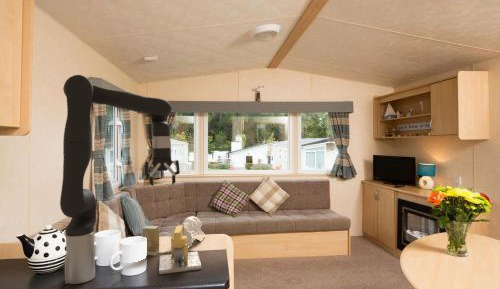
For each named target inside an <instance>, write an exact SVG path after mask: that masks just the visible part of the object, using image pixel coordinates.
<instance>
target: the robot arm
mask: <svg viewBox="0 0 500 289" xmlns="http://www.w3.org/2000/svg"><path fill="white" fill-rule="evenodd" d="M62 89H63V90H62V91H63V94H64V96H65V97H66V105H67V106H66V108H67V114H66V121H65V125H64V129H63V130H64V132H63V139H62V140H63V142H62V143H63V145H62V147H63V148H62V149H63V151H62V152H63V154H62V156H63V161H62V162H63V165H62V166H63V168H62V185H61V190H60V191H61V193H60V200H59V206H60V210H61V213H63V215H64V216H66V217H68V218H70V219H71V220H70V221H69V223H68V225H67V226H66V228H65V250H66V251H65V252H66V255H65V256H64V280H65V281H64V282H65V284H71V285H76V284H83V283H87V282H89V281H92V280H93V279H94V278H95V277H96V260H95V259H96V258H95V257H96V256H95V255H96V254H95V253H96V251H95V225H96V221H97V200H96V195H95V194H94V193H93V192H92V191H91V190H90V189H87V188H84V178H85V174H86V172H87V169H88V168H89V167H88V166H90V165H89V164H90V161H91V159H92V155H93V154H92V153H93V134H92V133H93V130H92V120H91V110H92V104H101V105H106V106H112V107H115V108H118V109H119V108H120V109H123V110H128V111H131V112H136V113H147V114H150V118H151V123H152V161H148V160H146V161H145V163H144V175H145V176H147V177H149V185H150V186H152V187H153V186H154V174H155V173H156V172H157V171H158V172H161V171H163V172H166V171H169V173H170V174H171V185H174V184H175V183H176V175H179V174H180V171H181V170H180V161H179V160H178V159H175V160H172V144H171V142H172V141H171V132H170V131H171V128H170V125H169V123H168V122H167V121H168V120H167V117H168V115H170V113H171V112H172V105H171V103H170V102H169V101H168V100H165V99H164V98H163V99H162V98H158V97H149V96H146V95H145V96H144V95H141V94H137V93H133V92H129V91H125V90H114V89H109V88H105V87H104V88H103V87H100V86H97V85H95V84H93V83H92V82H91V80H90V79H89V78H88V77H86V76H85V75H83V74H82V75H81V74H75V75H74V74H73V75H72V76H70V77H69V78H67V79H66V80H65V83H64V84H63V88H62ZM151 165H152V166H153V169H152V171H151V172H149V168H150V167H151ZM172 165H174V166H175V168H176V171H174V170H173V169H172V167H171V166H172Z"/></svg>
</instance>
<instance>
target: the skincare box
mask: <svg viewBox="0 0 500 289" xmlns="http://www.w3.org/2000/svg"><path fill="white" fill-rule="evenodd" d="M143 237H146V238H147V255H146V256H157V255H158V254H159V253H160V226H158V225H145V226H144V227H142V238H143Z"/></svg>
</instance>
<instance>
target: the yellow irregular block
mask: <svg viewBox="0 0 500 289" xmlns="http://www.w3.org/2000/svg"><path fill="white" fill-rule="evenodd" d="M175 228H176V229H175ZM175 228H174V229H175V231H174V237H172V238H171V240H170V246H171V247H173V248H182V247H184V244H187V237H186V236H183V234H184V224H183V223H179V224H177V225H176V227H175ZM171 247H170V248H171Z"/></svg>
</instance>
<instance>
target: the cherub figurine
mask: <svg viewBox="0 0 500 289" xmlns="http://www.w3.org/2000/svg"><path fill="white" fill-rule="evenodd" d="M182 224H184V234H183V236H186V237H187V244H188V246H189V248H190V247H192V246H193V244H194V239H193V240H192V236H197V235H205V236H206V234H205V233H204V231H203V230H202V225H203V223H202V220H200V218H198V217H197V216H193V215H192V216H188V217H186V218H185V219H184V221H183V223H182ZM175 229H176V227H175V228H173V229H172V230H171V231H170V235H169V237H168V239H169V238H170V237H174V231H175ZM192 243H193V244H192Z"/></svg>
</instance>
